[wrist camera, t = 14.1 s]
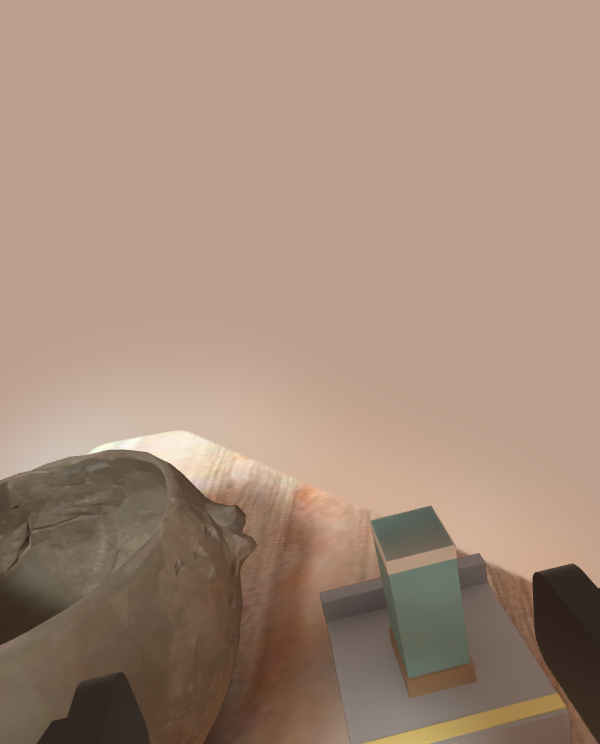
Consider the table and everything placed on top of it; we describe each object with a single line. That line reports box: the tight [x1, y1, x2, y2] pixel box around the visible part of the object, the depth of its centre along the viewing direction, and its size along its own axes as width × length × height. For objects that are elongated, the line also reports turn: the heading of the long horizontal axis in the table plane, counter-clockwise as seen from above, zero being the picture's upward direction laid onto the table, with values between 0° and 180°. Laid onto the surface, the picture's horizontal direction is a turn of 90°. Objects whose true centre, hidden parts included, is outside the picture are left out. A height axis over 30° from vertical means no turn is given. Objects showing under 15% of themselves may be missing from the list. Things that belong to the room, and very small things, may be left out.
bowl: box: [0, 450, 257, 744], centre depth 39 cm, size 27×29×20 cm
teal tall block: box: [370, 506, 477, 698], centre depth 38 cm, size 5×5×12 cm
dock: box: [320, 553, 571, 744], centre depth 40 cm, size 14×13×5 cm
